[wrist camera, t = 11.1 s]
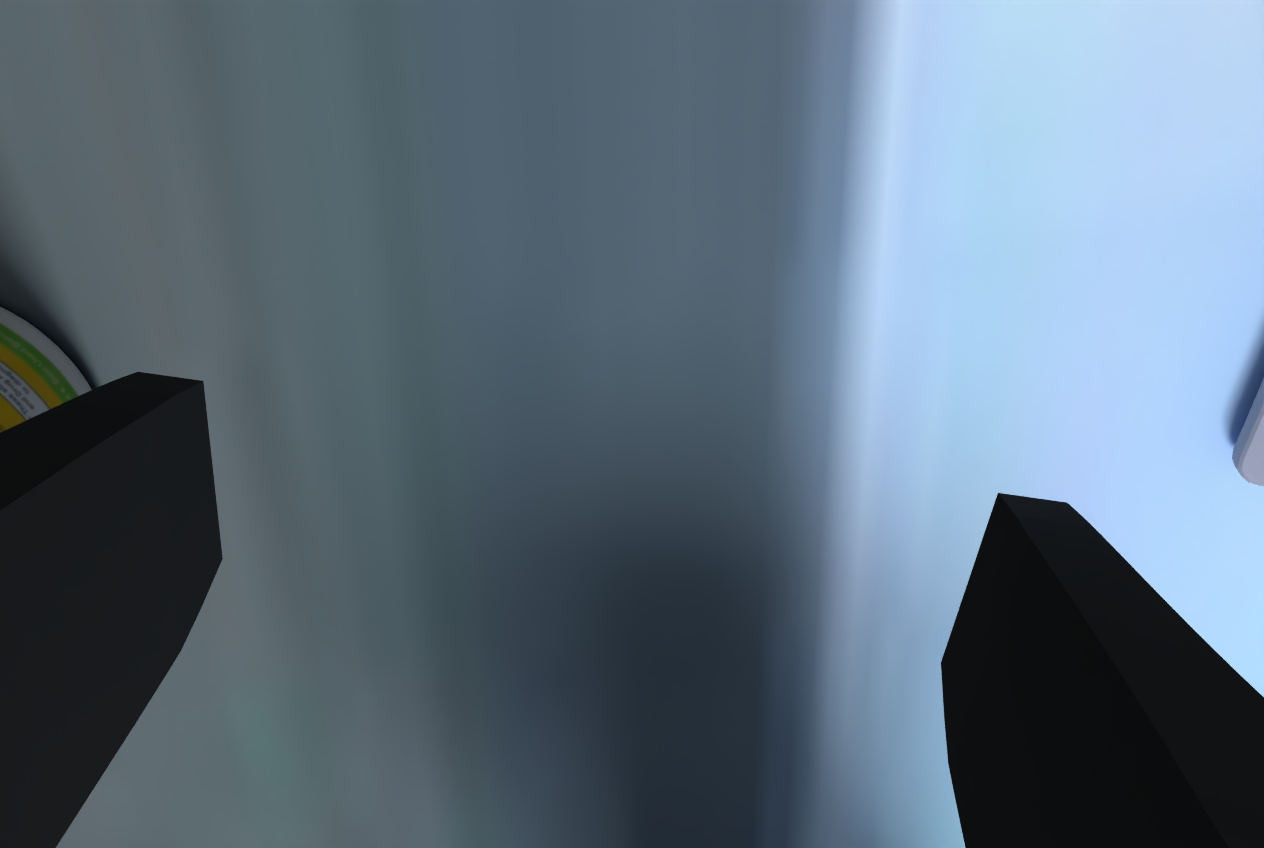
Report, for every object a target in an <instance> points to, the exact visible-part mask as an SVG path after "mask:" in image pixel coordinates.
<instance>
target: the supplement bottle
mask: <svg viewBox="0 0 1264 848" xmlns="http://www.w3.org/2000/svg"><path fill="white" fill-rule="evenodd" d="M91 390H92V389H91V388H90V386H89V384H88V383H87V381H86V380H85V378H84V377H83V375H82V374H81V372H80V371H79V370H78V368H77V367H76V366H75V365H74V364H73V362H72V361H71V360H70V359H69V358H68V357H67V356H66V355H65V353H64V352H63V351H62V350H61V349H60V348H59V347H58V346H57V345H56V344H54V343H53V342H52V341H51V340H50V339H49V338H48V337H47V336H45V335H44V334H43V333H42V332H41V331H39V330H38V329H37V328H35V327H34V326H32V325H31V324H30V323H28V322H27V321H25V320H24V319H22V318H20V317H18V316H17V315H15V314H13V313H12V312H10V311H8V310H6V309H4V308H2V307H0V433H1V432H3V431H5V430H7V429H9V428H11V427H13V426H16V425H18V424H20V423H22V422H24V421H26V420H28V419H30V418H32V417H35V416H37V415H39V414H41V413H43V412H45V411H47V410H49V409H52V408H54V407H56V406H58V405H60V404H62V403H64V402H67V401H69V400H71V399H73V398H75V397H78V396H80V395H82V394H84V393H86V392H89V391H91Z"/></svg>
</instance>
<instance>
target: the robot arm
mask: <svg viewBox="0 0 1264 848" xmlns="http://www.w3.org/2000/svg"><path fill="white" fill-rule="evenodd" d="M1232 459H1233V462H1234V465H1235V467H1236V469H1237V470H1238V472H1239V473H1240V475H1241V476H1242V477H1243V478H1244V479H1245V480H1246V481H1247V482H1249V483H1252V484H1256V485H1259V486H1264V379H1263V381H1262V383H1261V386H1260V388H1259V390H1258V393H1257V395H1256V397H1255V400H1254V402H1253V404H1252V407H1251V409H1250V411H1249V414H1248V416H1247V418H1246V421H1245V423H1244V425H1243V428H1242V430H1241V433H1240V435H1239V437H1238V440H1237V442H1236V444H1235V447H1234V450H1233V455H1232ZM221 561H222V550H221V540H220V531H219V522H218V513H217V503H216V494H215V485H214V476H213V467H212V457H211V448H210V439H209V430H208V421H207V411H206V402H205V393H204V384H203V381H199V380H192V379H185V378H178V377H171V376H163V375H156V374H149V373H142V372H136V373H133V374H131V375H128V376H125V377H122V378H120V379H117V380H114V381H112V382H109V383H107V384H105V385H102V386H100V387H98V388H95V389H93V390H91V391H89V392H86V393H84V394H82V395H80V396H78V397H75V398H73V399H71V400H69V401H67V402H64V403H62V404H60V405H58V406H56V407H54V408H52V409H49V410H47V411H45V412H43V413H41V414H39V415H37V416H35V417H32V418H30V419H28V420H26V421H24V422H22V423H20V424H18V425H16V426H13V427H11V428H9V429H7V430H5V431H3V432H1V433H0V848H56V846H57V845H58V843H59V842H60V840H61V839H62V837H63V835H64V834H65V832H66V831H67V829H68V828H69V826H70V824H71V823H72V821H73V820H74V818H75V817H76V815H77V814H78V812H79V810H80V809H81V807H82V806H83V804H84V803H85V801H86V800H87V798H88V796H89V795H90V793H91V792H92V790H93V789H94V787H95V786H96V784H97V782H98V781H99V779H100V778H101V776H102V775H103V773H104V772H105V770H106V768H107V767H108V765H109V764H110V762H111V761H112V759H113V758H114V756H115V754H116V753H117V751H118V750H119V748H120V747H121V745H122V744H123V742H124V740H125V739H126V737H127V736H128V734H129V733H130V731H131V730H132V728H133V726H134V725H135V723H136V722H137V720H138V719H139V717H140V715H141V714H142V712H143V711H144V709H145V707H146V706H147V704H148V703H149V701H150V699H151V698H152V696H153V695H154V693H155V692H156V690H157V688H158V687H159V685H160V684H161V682H162V680H163V679H164V677H165V676H166V674H167V672H168V671H169V669H170V668H171V666H172V664H173V663H174V661H175V659H176V658H177V656H178V654H179V653H180V651H181V649H182V647H183V645H184V643H185V641H186V639H187V637H188V635H189V632H190V630H191V628H192V626H193V624H194V622H195V620H196V618H197V616H198V613H199V611H200V609H201V607H202V605H203V602H204V600H205V598H206V595H207V593H208V591H209V589H210V586H211V584H212V582H213V579H214V577H215V575H216V572H217V570H218V568H219V566H220V563H221ZM941 670H942V686H943V703H944V719H945V730H946V742H947V753H948V764H949V769H950V774H951V779H952V784H953V789H954V794H955V799H956V804H957V809H958V814H959V818H960V823H961V828H962V833H963V838H964V842H965V847H966V848H1264V697H1263V696H1262V695H1261V694H1259V693H1258V692H1257V691H1256V690H1255V689H1254V688H1253V687H1252V686H1251V685H1250V684H1249V683H1248V682H1247V681H1246V680H1245V679H1244V678H1243V677H1241V676H1240V675H1239V674H1238V673H1237V672H1236V671H1235V670H1234V669H1233V668H1232V667H1231V666H1230V665H1229V664H1228V663H1227V662H1226V661H1225V660H1224V659H1223V658H1222V657H1221V656H1220V655H1219V654H1218V653H1217V652H1216V651H1215V650H1214V649H1213V648H1212V647H1211V646H1210V645H1209V644H1208V643H1207V642H1206V641H1205V640H1204V639H1203V638H1202V637H1201V636H1200V635H1199V634H1198V633H1197V632H1195V631H1194V630H1193V629H1192V628H1191V627H1190V626H1189V625H1188V624H1187V623H1186V621H1185V620H1184V619H1183V618H1182V617H1181V616H1180V615H1179V614H1178V613H1177V612H1176V611H1175V610H1174V609H1173V608H1172V607H1171V606H1170V605H1169V604H1168V603H1167V602H1166V601H1165V600H1164V599H1163V598H1162V597H1161V596H1160V595H1159V594H1158V593H1157V592H1156V591H1155V590H1154V589H1153V588H1152V587H1151V586H1150V585H1149V584H1148V583H1147V582H1146V581H1145V580H1144V579H1143V577H1142V576H1141V575H1140V574H1139V573H1138V572H1137V571H1136V570H1135V569H1134V568H1133V567H1132V566H1131V565H1130V564H1129V563H1128V562H1127V561H1126V560H1125V559H1124V558H1123V557H1122V556H1121V555H1120V554H1119V553H1118V552H1117V551H1116V550H1115V549H1114V548H1113V547H1112V546H1111V545H1110V544H1109V543H1108V542H1107V540H1106V539H1105V538H1104V537H1103V536H1102V535H1101V534H1100V533H1099V532H1098V531H1097V530H1096V529H1095V528H1094V527H1093V526H1092V525H1091V524H1090V523H1088V522H1087V521H1086V520H1085V519H1084V518H1083V517H1082V516H1081V515H1080V514H1079V513H1078V512H1077V511H1076V510H1075V509H1074V508H1072V507H1071V506H1070V505H1069V504H1068V503H1065V502H1058V501H1051V500H1044V499H1037V498H1030V497H1023V496H1016V495H1009V494H1002V493H998V495H997V498H996V501H995V504H994V507H993V510H992V513H991V516H990V519H989V522H988V525H987V528H986V530H985V533H984V536H983V539H982V542H981V545H980V548H979V551H978V554H977V557H976V560H975V563H974V566H973V569H972V572H971V575H970V578H969V581H968V584H967V587H966V590H965V593H964V596H963V599H962V602H961V605H960V608H959V611H958V614H957V617H956V620H955V623H954V626H953V629H952V632H951V635H950V638H949V641H948V644H947V647H946V650H945V653H944V656H943V659H942V662H941Z"/></svg>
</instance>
